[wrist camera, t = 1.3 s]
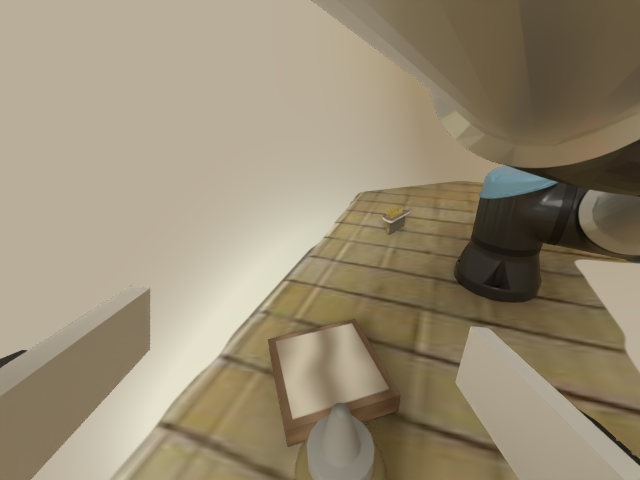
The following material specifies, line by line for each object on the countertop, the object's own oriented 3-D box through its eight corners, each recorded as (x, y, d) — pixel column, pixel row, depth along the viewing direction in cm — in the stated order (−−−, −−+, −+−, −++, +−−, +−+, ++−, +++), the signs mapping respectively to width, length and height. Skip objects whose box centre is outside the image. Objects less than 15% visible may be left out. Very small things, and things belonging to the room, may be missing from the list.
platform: (357, 234, 83) (358, 213, 80) (392, 216, 95) (394, 196, 92) (395, 248, 76) (397, 224, 73) (428, 226, 87) (431, 205, 84)
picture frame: (354, 332, 49) (355, 317, 48) (398, 410, 37) (400, 393, 36) (270, 353, 46) (267, 338, 44) (287, 446, 34) (285, 429, 32)
